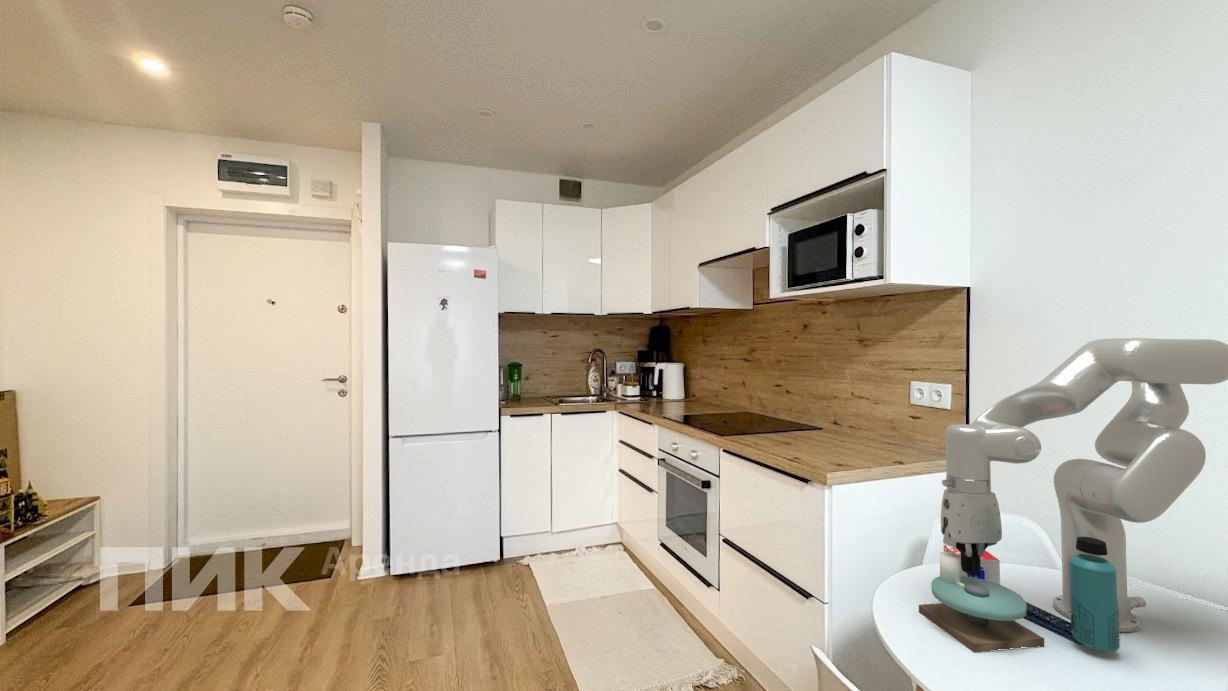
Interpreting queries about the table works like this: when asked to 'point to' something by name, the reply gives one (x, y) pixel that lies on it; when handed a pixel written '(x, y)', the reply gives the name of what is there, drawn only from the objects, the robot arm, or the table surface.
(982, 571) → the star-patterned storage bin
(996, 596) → the handwheel
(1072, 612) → the beverage bottle
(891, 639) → the table surface
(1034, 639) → the stand
